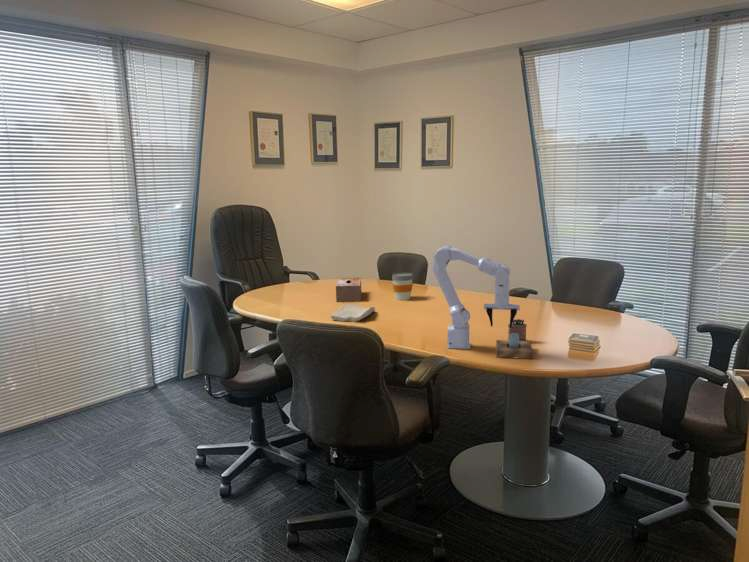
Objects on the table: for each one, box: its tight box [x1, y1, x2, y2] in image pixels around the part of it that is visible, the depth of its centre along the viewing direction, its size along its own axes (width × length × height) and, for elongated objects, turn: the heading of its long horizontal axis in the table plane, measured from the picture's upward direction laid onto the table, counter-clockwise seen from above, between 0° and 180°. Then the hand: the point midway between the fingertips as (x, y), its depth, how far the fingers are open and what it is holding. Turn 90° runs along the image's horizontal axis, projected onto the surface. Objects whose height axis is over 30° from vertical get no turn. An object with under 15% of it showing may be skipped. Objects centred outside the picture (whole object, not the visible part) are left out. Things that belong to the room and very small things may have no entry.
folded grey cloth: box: [330, 303, 376, 323], centre depth 289 cm, size 24×8×20 cm
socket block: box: [495, 339, 534, 359], centre depth 223 cm, size 14×14×3 cm
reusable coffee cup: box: [391, 272, 414, 301], centre depth 327 cm, size 13×13×15 cm
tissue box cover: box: [335, 277, 362, 303], centre depth 336 cm, size 26×14×10 cm, turn 0°
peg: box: [509, 333, 519, 348], centre depth 222 cm, size 4×4×8 cm
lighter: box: [507, 318, 527, 341], centre depth 238 cm, size 8×3×10 cm, turn 92°
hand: (501, 326), depth 226 cm, fingers open, 7 cm apart
